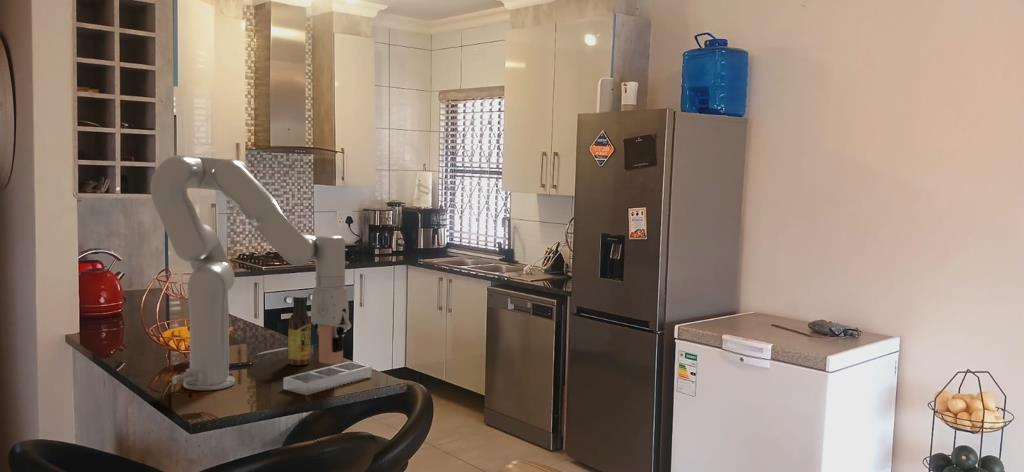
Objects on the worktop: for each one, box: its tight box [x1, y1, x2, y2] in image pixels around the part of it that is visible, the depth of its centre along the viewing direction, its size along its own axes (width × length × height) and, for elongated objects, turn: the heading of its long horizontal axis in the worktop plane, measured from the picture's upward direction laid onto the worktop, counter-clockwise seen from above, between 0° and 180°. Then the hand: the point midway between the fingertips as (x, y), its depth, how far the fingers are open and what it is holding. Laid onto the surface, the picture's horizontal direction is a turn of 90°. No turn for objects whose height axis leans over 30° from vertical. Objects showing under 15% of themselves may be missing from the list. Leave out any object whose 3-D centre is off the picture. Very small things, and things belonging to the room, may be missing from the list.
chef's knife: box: [256, 347, 288, 355], centre depth 248 cm, size 19×1×3 cm
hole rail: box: [283, 360, 373, 396], centre depth 212 cm, size 23×9×3 cm, turn 146°
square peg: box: [318, 325, 344, 365], centre depth 211 cm, size 4×4×10 cm
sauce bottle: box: [287, 295, 312, 366], centre depth 231 cm, size 6×6×20 cm
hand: (330, 349), depth 211 cm, fingers closed on square peg, 4 cm apart
